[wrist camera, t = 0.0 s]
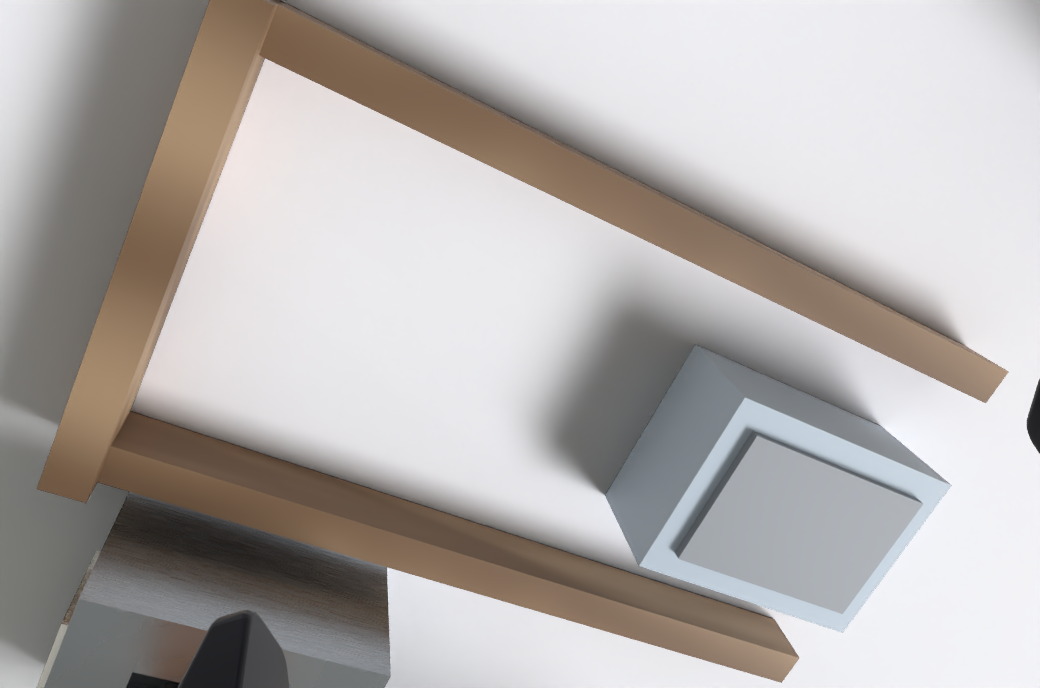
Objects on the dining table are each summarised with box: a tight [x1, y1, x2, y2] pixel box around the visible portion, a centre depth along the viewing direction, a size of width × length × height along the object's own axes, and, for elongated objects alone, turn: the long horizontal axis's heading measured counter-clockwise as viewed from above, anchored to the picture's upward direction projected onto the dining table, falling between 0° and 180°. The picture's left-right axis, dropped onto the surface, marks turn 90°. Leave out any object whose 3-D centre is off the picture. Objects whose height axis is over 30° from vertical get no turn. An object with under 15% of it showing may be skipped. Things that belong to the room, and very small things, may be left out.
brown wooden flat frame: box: [37, 0, 1008, 683], centre depth 25 cm, size 13×25×3 cm, turn 63°
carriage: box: [605, 344, 952, 633], centre depth 27 cm, size 6×8×4 cm
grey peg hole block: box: [37, 492, 391, 688], centre depth 25 cm, size 8×8×6 cm
